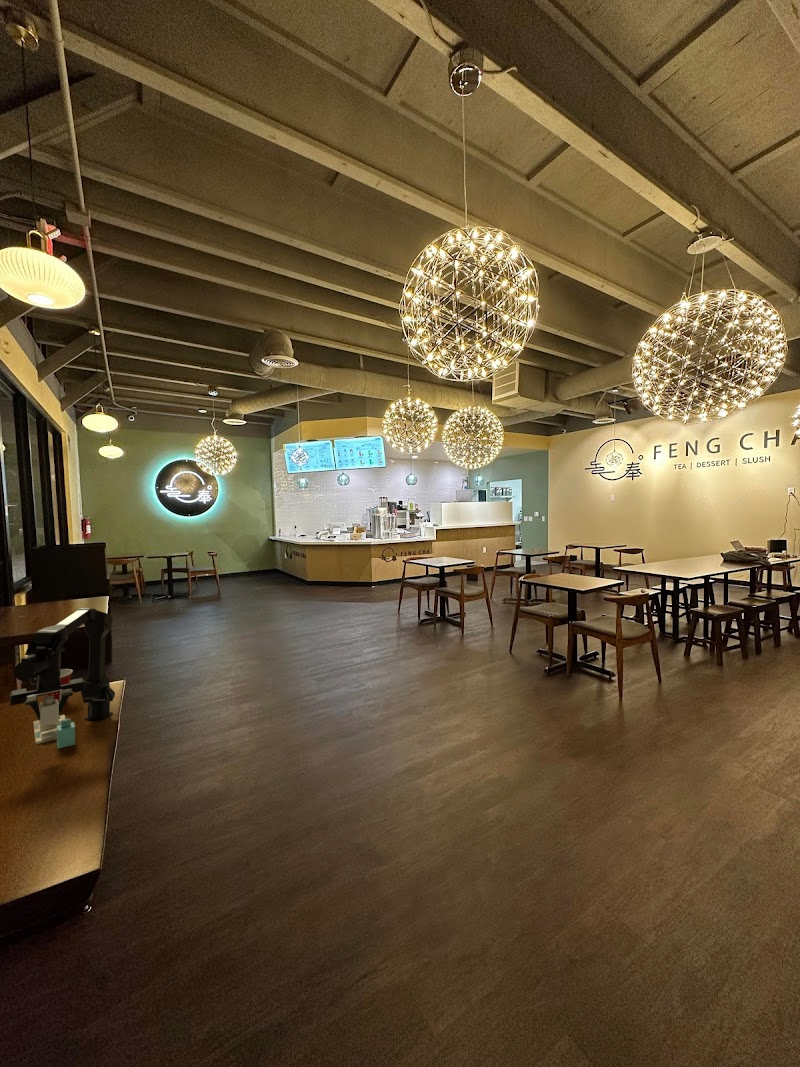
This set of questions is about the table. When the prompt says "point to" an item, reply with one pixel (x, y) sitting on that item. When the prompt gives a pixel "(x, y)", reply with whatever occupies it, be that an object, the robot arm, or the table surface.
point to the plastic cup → (62, 681)
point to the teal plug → (65, 733)
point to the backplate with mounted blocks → (46, 731)
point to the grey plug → (49, 711)
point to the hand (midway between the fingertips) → (49, 717)
